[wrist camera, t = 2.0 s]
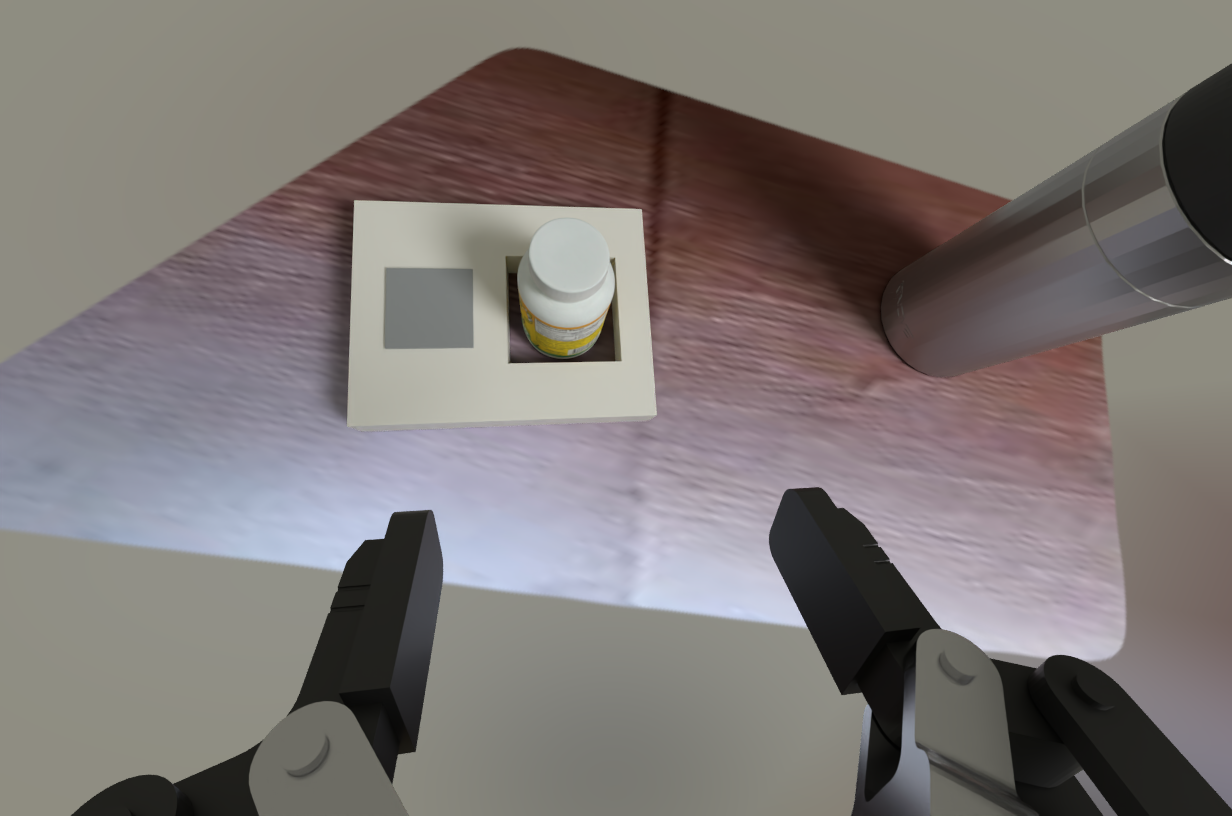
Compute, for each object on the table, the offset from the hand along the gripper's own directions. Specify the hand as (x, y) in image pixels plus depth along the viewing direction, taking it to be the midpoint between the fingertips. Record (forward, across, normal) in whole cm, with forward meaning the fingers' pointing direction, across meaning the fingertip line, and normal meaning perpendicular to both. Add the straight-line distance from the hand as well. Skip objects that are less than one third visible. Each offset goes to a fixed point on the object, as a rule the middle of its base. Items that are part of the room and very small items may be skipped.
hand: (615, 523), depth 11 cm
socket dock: (+23, +3, +6) cm, 24 cm away
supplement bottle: (+23, 0, +6) cm, 24 cm away
